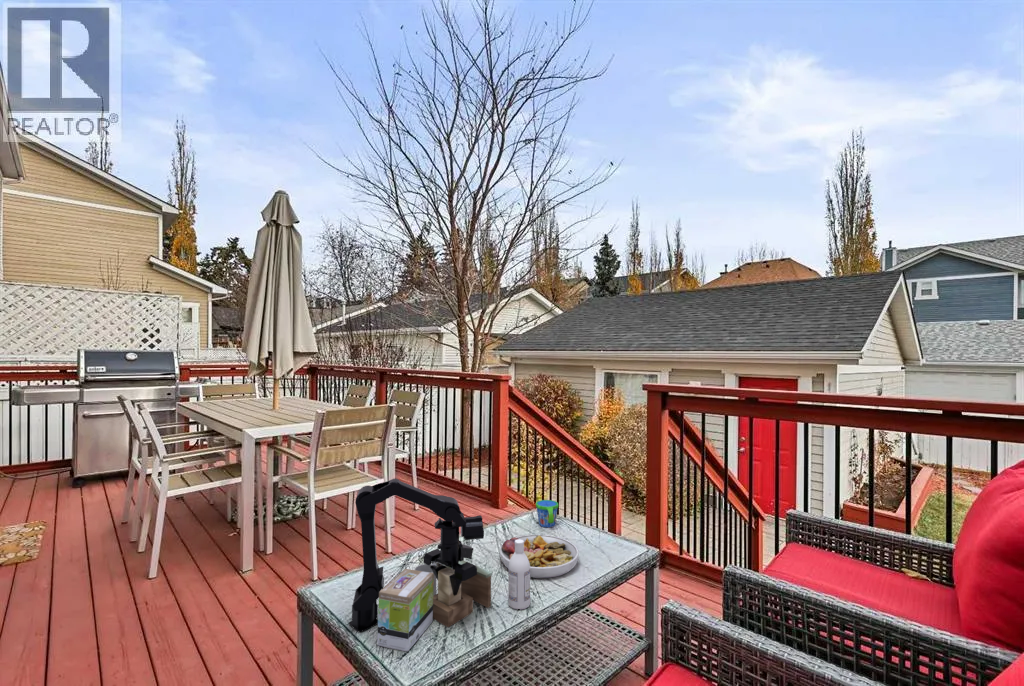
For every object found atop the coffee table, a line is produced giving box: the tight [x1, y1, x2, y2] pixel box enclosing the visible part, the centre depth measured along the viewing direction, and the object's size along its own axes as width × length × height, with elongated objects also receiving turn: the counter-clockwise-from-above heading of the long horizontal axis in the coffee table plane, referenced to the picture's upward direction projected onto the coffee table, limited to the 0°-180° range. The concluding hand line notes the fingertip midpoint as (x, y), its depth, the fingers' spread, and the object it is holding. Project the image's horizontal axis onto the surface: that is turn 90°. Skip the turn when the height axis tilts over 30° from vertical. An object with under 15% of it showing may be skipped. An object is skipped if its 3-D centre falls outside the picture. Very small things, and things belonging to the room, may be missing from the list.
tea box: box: [376, 568, 434, 652], centre depth 131 cm, size 15×10×15 cm
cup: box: [413, 563, 437, 596], centre depth 152 cm, size 7×10×9 cm
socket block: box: [433, 559, 493, 628], centre depth 143 cm, size 16×15×11 cm
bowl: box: [499, 534, 579, 579], centre depth 176 cm, size 30×30×8 cm
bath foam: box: [507, 539, 531, 610], centre depth 146 cm, size 7×7×20 cm
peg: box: [437, 567, 461, 606], centre depth 141 cm, size 5×5×10 cm
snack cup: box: [535, 499, 559, 528], centre depth 214 cm, size 16×10×10 cm
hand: (449, 592), depth 141 cm, fingers closed on peg, 5 cm apart
